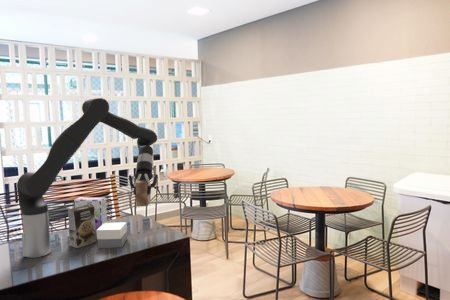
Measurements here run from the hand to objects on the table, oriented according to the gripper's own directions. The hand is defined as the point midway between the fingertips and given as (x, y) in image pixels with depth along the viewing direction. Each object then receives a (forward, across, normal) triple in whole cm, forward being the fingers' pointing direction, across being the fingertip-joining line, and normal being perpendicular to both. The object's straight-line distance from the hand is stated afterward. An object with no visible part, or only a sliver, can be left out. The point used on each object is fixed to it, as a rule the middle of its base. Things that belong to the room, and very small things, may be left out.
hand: (141, 194), depth 161 cm
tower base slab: (+20, -12, +8) cm, 24 cm away
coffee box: (+19, -25, +9) cm, 32 cm away
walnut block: (+2, 0, +5) cm, 6 cm away
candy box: (+8, -26, +20) cm, 34 cm away
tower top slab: (+17, -12, +5) cm, 21 cm away
